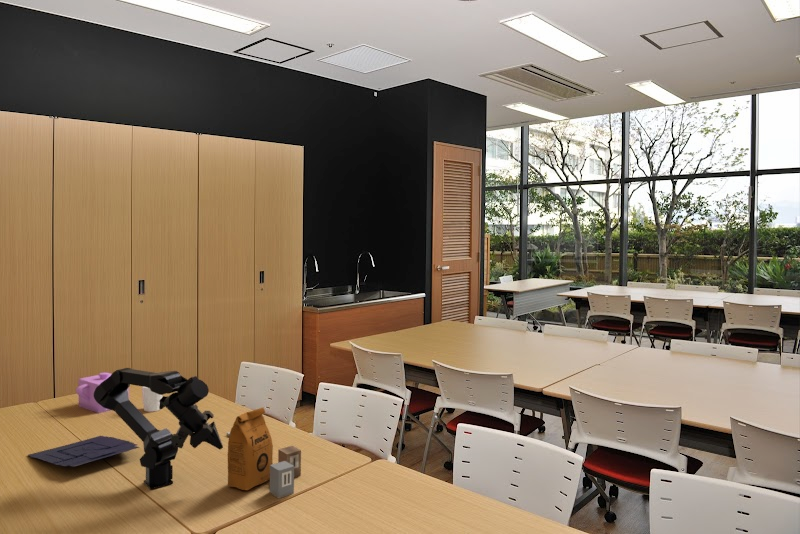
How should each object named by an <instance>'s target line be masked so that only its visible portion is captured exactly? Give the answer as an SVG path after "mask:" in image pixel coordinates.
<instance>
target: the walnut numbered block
mask: <svg viewBox="0 0 800 534" xmlns="http://www.w3.org/2000/svg"><path fill="white" fill-rule="evenodd" d="M277 452H278V453H277V455H278V456H277V457H278V461H277V463H279V462H282V461H286V462H288V463H290V464H291V465H293V466H294V479H295V478H297V477H301V475H302V472H301V471H302V470H301V469H302V449H299V448H298V447H296V446H294V445H290V446H287V447H286V446H285V447H283V448H279V449H278V451H277Z"/></svg>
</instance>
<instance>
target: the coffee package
mask: <svg viewBox="0 0 800 534" xmlns="http://www.w3.org/2000/svg"><path fill="white" fill-rule="evenodd" d="M265 413H266V410H265V408H264V407H259V408H257V409H253V410H250V411H246V412H243V413H242V414H239V415H238V416H236V418H235V420H234V422H233V425H232V426H231V429H230V434H229V436H228V443H227V486H228V487H231V488H237V489H239V490H242V491H249V490H251V489H252V488H254V487H256V486H260V485H262V484H264V483H265V482H268V481H270V465H272V464H274V462H273V459H274V458H273V457H274V456H273V454H274V453H273V452H274V445H273V438H272V435H271V432H270V430H269V427H268V426H267V424H266V420H265V417H264V414H265Z"/></svg>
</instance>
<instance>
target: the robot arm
mask: <svg viewBox="0 0 800 534" xmlns="http://www.w3.org/2000/svg"><path fill="white" fill-rule="evenodd" d="M111 374H112V375H111V376H110V377H108V378H107V379H106V380H104V381H103V382H102V383H101V384H100V385H99V386H97V387H96V389H95V391H94V399H95V400H96V402H97V403H98V404H100V405H101V406H102V407H104V408H106V409H110V411H113V412H115V413H116V414H117V416H118V417H120V418H121V420H122V421H123V422H124V423H125V424H126V426H128V427H129V429H131V430H132V432H133V433H134V434H135V435H136V436H137V437H138V438H139V439H140V440H141V442H142V444H143V452H144V454H143V455H142V456H141V457H140V458H139V464H140V466H141V467H143V468H145V479H144V480H143V483H144V484H145V485H146V486H147V487H148V489H150V490H154V489H157V488H161V487H165V486H168V485H169V486H170V485H172V484H173V483H174V481H173V475H174V474H173V473H174V472H173V469H174V468H173V465H172V461H174V460H176V457H177V453H178V451H179V449H182V448H184V444H185V442H186V440H187V439H188V437H189V445H190V446H191V447H192V448H193V449H196V448H198V446H199V445H201V444H202V443H203V442H204V443H207V444H209V445H210V446H213V447H214V448H216V449H218V450H222V449H223V447H224V445H223V442H222V439H221V438H220V435H219V432H218V429H217V427H216V423H215V421H212V422H211V423H209V422H208V421H209V420H210V419H213V418H214V417H215V416H214V415H215V414H213V413H212V411H211V410H204V411H201V410H199V406H198V405H197V403H199V402H200V401H202V400H203V399H205V398H206V397H207V396H208V395H209V386H208V385H207V383H205V382H204V381H203V380H202V379H199V378H198V376H197V375H195V376H191V377H189V378H188V379H187V378H186V377H184V376H183V375H181V374H180V372H179V371H177V370H168V371H160V372H155V371H146V370H140V369H134V368H133V369H132V368H131V367H124V368H119V369H117V370H115V371H113V372H112V373H111ZM130 385H131V386H137V387H141V388H142V387H148V388H150V390H151V391H152V392H154V393H157V394H159V395H162V398H161V399H160V406H159V409H160V410H162V409H164V408H166V409H167V410H168V411H169V412H170V413H171V414H172V415H173V416H174V418H176V419H177V420H178V425H179V428H178V429H177V431H176V432H175V433H172V432H171V431H170V430H169V429H168V428H167V427H166V428H163V429H157V428H156V426H154V425H153V423H152V422H151V421H150V420H149V419H148V418H147V417H146V416H145V415H144V414H143V413H142V412H141V411H140V410H139V409H138V408H137V407H136V405H135V404H133V402H132V401H130V398H129V399H128V391H127V389H128V388H129V389H130ZM166 394H168V396H163V395H166Z"/></svg>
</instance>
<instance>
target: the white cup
mask: <svg viewBox="0 0 800 534" xmlns="http://www.w3.org/2000/svg"><path fill="white" fill-rule="evenodd" d="M141 391H142V404H143V411H144V412H149V413H150V412H151V413H152V412H158V411H160V410H161V409H159V406H160V399H161V398H162V397H163V395H159V394H157V393H154V392H152V391H151V390H150V388H148V387H142V386H141Z"/></svg>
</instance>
